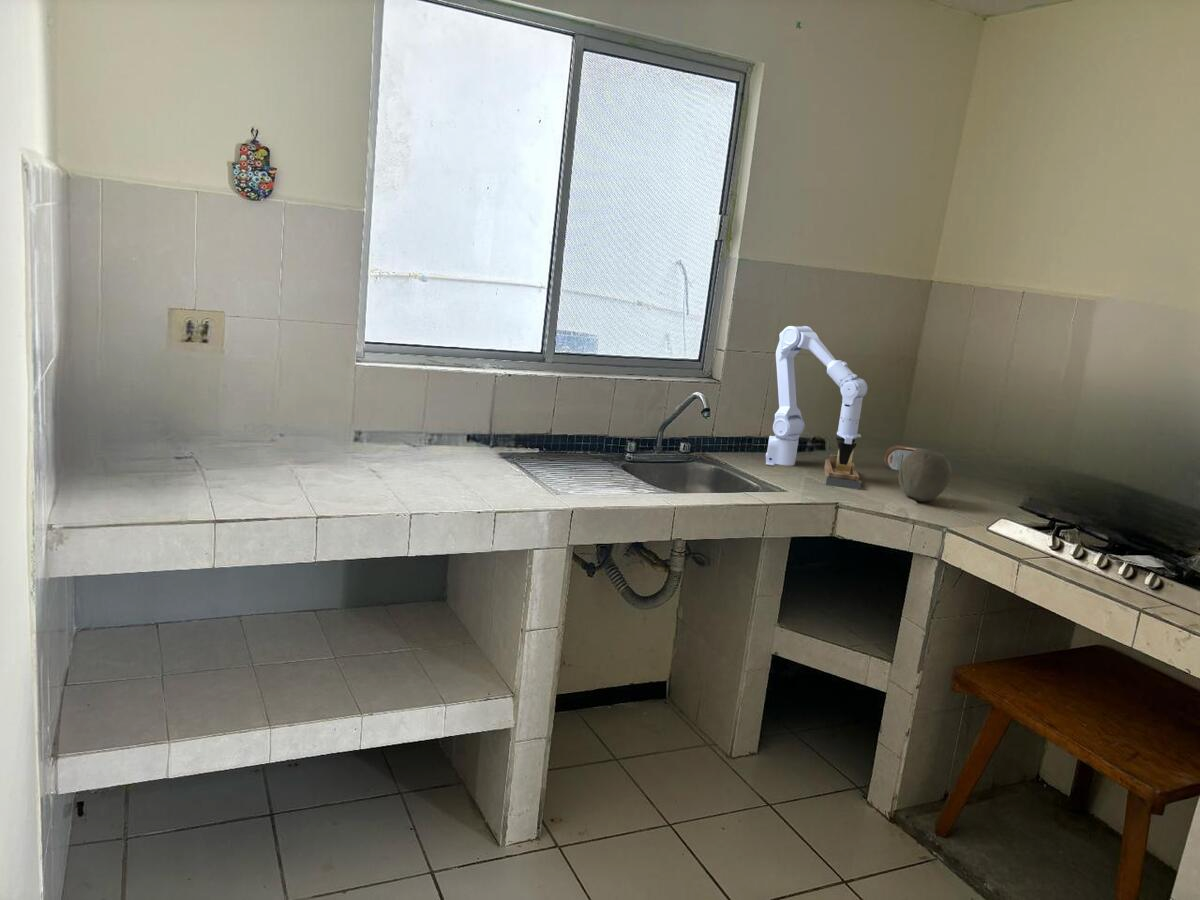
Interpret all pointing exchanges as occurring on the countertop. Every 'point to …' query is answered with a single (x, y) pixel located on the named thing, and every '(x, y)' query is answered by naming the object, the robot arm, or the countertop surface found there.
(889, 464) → the tin
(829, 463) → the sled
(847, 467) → the block
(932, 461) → the cantaloupe
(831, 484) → the track
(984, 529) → the countertop surface
